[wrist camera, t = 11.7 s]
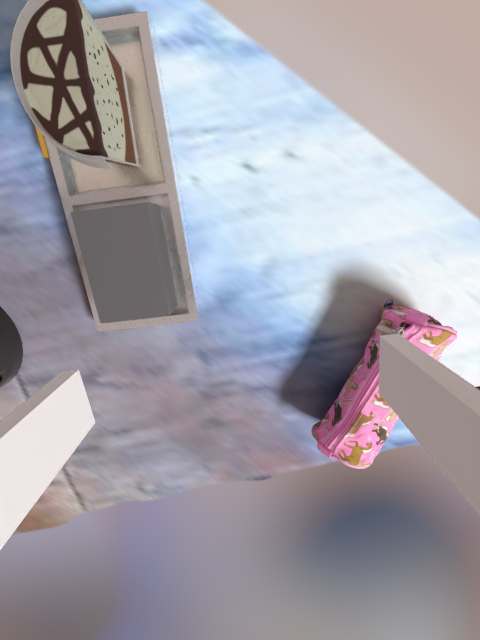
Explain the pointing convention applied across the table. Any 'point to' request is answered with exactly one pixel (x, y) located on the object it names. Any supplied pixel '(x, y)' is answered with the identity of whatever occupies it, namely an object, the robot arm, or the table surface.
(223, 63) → the table surface
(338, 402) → the pencil case
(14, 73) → the food container
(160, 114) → the rack
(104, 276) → the grey rectangular box
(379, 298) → the table surface
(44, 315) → the table surface
